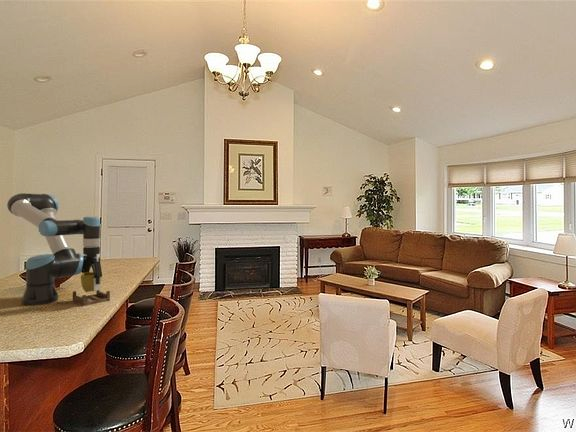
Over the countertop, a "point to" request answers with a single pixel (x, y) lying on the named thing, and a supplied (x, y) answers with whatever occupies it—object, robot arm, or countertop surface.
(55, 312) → the countertop surface
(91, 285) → the flower pot
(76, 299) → the rack
